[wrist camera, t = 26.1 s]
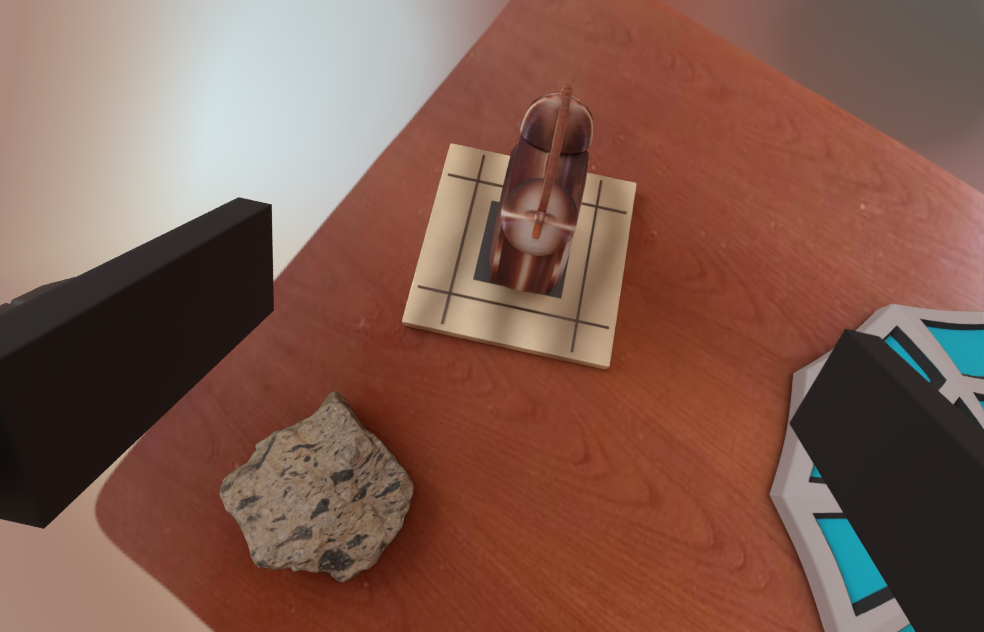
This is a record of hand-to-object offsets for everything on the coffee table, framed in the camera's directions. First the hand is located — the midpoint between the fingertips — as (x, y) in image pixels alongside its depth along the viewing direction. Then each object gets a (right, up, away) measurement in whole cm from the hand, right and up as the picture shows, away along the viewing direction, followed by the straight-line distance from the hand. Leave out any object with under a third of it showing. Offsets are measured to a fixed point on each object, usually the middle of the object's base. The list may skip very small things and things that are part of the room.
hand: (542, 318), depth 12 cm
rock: (-13, -13, +25) cm, 31 cm away
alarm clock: (+2, +5, +29) cm, 30 cm away
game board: (+1, +5, +30) cm, 31 cm away
